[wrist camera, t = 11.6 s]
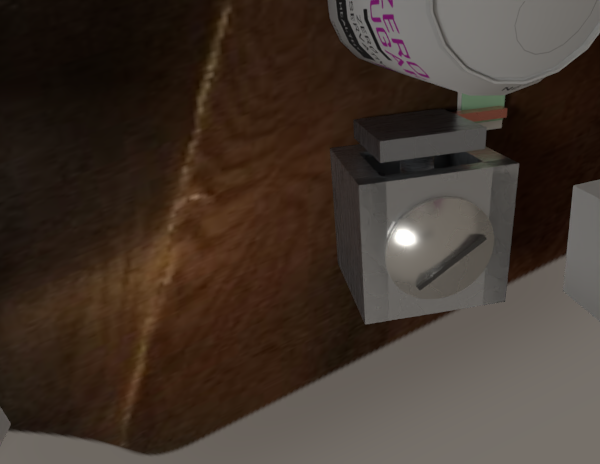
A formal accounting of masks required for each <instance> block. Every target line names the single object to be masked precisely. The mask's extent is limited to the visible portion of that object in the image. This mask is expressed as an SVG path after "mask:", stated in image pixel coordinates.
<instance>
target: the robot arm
mask: <svg viewBox="0 0 600 464" xmlns="http://www.w3.org/2000/svg"><path fill="white" fill-rule="evenodd" d="M563 291H564V292H565V293H566V294H567V295H569V296H570V297H571V298H572V299H573V300H575V301H576V302H577V303H578V304H579V305H581V306H582V307H583V308H584V309H585V310H587V311H588V312H589V313H590V314H591V315H593V316H594V317H595V318H596V319H597V320H599V321H600V180H596V181H591V182H587V183H582V184H578V185H573V194H572V204H571V214H570V225H569V235H568V245H567V255H566V266H565V276H564V286H563ZM10 425H11V423H10V422H9V420H8V419H7V417H6V415H5V414H4V412H3V411H2V409H1V407H0V445H1V443H2V441H3V439H4V437H5V435H6V433H7V431H8V429H9V427H10Z"/></svg>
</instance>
